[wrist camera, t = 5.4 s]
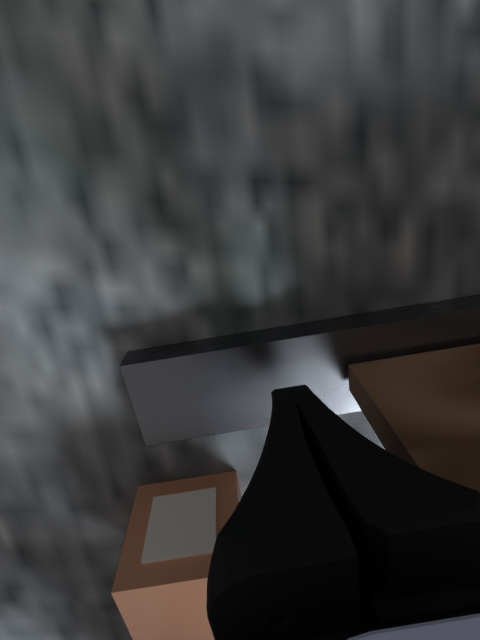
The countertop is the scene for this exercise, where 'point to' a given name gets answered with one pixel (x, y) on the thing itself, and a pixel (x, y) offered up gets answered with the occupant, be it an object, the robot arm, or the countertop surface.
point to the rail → (279, 366)
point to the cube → (172, 556)
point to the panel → (426, 409)
